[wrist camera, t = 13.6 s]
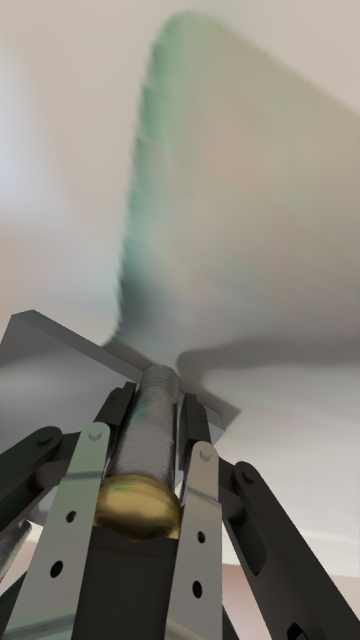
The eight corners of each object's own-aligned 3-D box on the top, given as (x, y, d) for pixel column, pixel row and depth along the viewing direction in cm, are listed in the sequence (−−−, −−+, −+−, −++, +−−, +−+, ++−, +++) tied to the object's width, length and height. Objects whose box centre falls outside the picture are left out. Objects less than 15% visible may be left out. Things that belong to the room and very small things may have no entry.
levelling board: (-34, 466, 20) (-63, 492, 18) (33, 309, 15) (5, 316, 13) (120, 530, 23) (113, 561, 21) (220, 414, 18) (226, 436, 16)
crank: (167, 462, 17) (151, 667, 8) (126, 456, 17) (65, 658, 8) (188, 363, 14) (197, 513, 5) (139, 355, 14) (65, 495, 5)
